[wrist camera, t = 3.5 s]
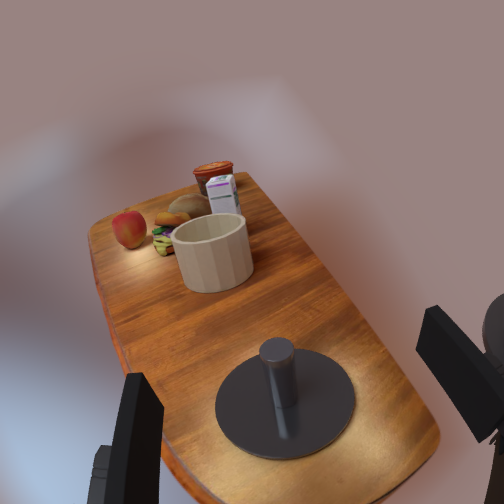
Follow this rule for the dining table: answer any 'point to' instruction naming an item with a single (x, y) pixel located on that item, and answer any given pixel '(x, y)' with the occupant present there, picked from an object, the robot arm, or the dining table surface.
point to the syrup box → (223, 195)
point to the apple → (129, 229)
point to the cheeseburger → (167, 230)
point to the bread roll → (191, 205)
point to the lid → (284, 402)
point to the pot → (213, 252)
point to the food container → (211, 173)
